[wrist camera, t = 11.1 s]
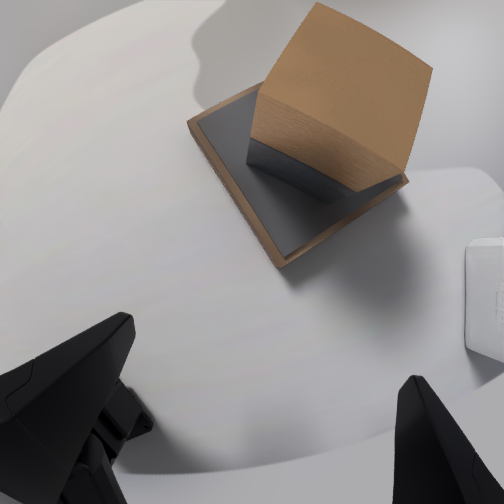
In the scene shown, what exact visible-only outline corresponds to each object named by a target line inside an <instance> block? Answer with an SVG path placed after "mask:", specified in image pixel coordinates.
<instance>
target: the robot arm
mask: <svg viewBox="0 0 504 504" xmlns="http://www.w3.org/2000/svg"><path fill="white" fill-rule="evenodd" d="M135 335H136V332H135V326H134V319H133V316H132V315H131V314H128V313H125V312H118V313H117V314H115V315H113V316H111V317H109V318H107V319H105V320H104V321H102V322H100V323H98V324H96V325H94V326H93V327H91V328H89V329H87V330H85V331H83V332H81V333H80V334H78V335H76V336H74V337H72V338H70V339H69V340H67V341H65V342H63V343H61V344H59V345H58V346H56V347H54V348H52V349H50V350H49V351H47V352H45V353H43V354H41V355H39V356H38V357H36V358H35V360H34V359H32V360H30V361H28V362H27V363H25V364H23V365H21V366H19V367H17V368H15V369H13V370H11V371H9V372H7V373H4V374H2V375H0V504H127V502H126V500H125V498H124V495H123V493H122V491H121V489H120V487H119V484H118V482H117V480H116V477H115V475H114V473H113V470H112V468H111V467H112V465H113V464H114V462H115V460H116V458H117V456H118V454H119V452H120V450H121V448H122V447H123V445H124V443H125V441H128V440H130V439H133V438H135V437H137V436H140V435H142V434H144V433H146V432H149V431H151V430H152V428H153V423H152V421H151V420H150V419H149V418H148V416H147V415H146V414H145V413H144V412H143V410H142V407H141V406H140V405H139V404H138V402H137V401H136V400H135V399H134V397H133V396H132V395H131V393H130V392H129V391H128V390H127V388H126V387H125V386H124V384H123V383H121V382H120V381H119V379H118V378H119V376H120V373H121V371H122V369H123V366H124V364H125V361H126V359H127V356H128V354H129V351H130V349H131V347H132V344H133V342H134V339H135ZM145 424H148V425H149V426H146V425H145ZM392 504H504V490H503V488H502V487H501V486H500V484H499V483H498V482H497V481H496V479H495V478H494V477H493V475H492V474H491V473H490V471H489V470H488V469H487V467H486V466H485V464H484V463H483V461H482V460H481V458H480V457H479V455H478V454H477V452H475V449H474V448H473V446H472V445H471V443H470V442H469V440H468V439H467V437H466V436H465V434H464V433H463V431H462V430H461V429H460V427H459V426H458V424H457V423H456V421H455V420H454V418H453V417H452V416H451V414H450V413H449V411H448V410H447V409H446V407H445V406H444V404H443V403H442V402H441V400H440V399H439V397H438V396H437V395H436V393H435V392H434V391H433V389H432V388H431V387H430V385H429V384H428V382H427V381H426V380H425V378H424V377H423V376H418V375H412V376H410V377H409V378H408V380H407V381H406V382H405V383H404V385H403V386H402V387H401V389H400V390H399V393H398V400H397V414H396V426H395V461H394V487H393V502H392Z"/></svg>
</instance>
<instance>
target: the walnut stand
mask: <svg viewBox="0 0 504 504" xmlns="http://www.w3.org/2000/svg"><path fill="white" fill-rule="evenodd" d="M263 82H264V81H263ZM263 82H261V83H259V84H257V85H255V86H252V87H250V88H248V89H246V90H244V91H242V92H240V93H238V94H236V95H234V96H232V97H230V98H228V99H226V100H224V101H222V102H220V103H219V104H217V105H215V106H213V107H211V108H209V109H207V110H206V111H204V112H202V113H200V114H198V115H197V116H195V117H193V118H191V119H190V120H188V121H186V122H187V124H188V127H189V130H190V133H191V135H192V136H193V138H194V139H195V141H196V142H197V144H198V146H199V147H200V149H201V150H202V152H203V153H204V155H205V157H206V158H207V160H208V161H209V163H210V164H211V166H212V167H213V169H214V171H215V172H216V174H217V175H218V177H219V178H220V180H221V182H222V183H223V185H224V186H225V188H226V189H227V191H228V193H229V194H230V196H231V197H232V199H233V200H234V202H235V204H236V205H237V207H238V208H239V210H240V212H241V213H242V215H243V216H244V218H245V219H246V221H247V223H248V224H249V226H250V227H251V229H252V231H253V232H254V234H255V235H256V237H257V238H258V240H259V242H260V243H261V245H262V246H263V248H264V250H265V251H266V253H267V254H268V256H269V258H270V259H271V261H272V262H273V264H274V266H275V267H277V268H282V267H283V266H285V265H287V264H288V263H290V262H291V261H293V260H294V259H296V258H297V257H299V256H300V255H302V254H304V253H305V252H307V251H308V250H310V249H311V248H313V247H314V246H316V245H317V244H319V243H320V242H322V241H323V240H325V239H326V238H328V237H329V236H331V235H332V234H334V233H335V232H337V231H338V230H340V229H341V228H343V227H344V226H346V225H347V224H349V223H350V222H352V221H353V220H355V219H356V218H358V217H359V216H361V215H362V214H364V213H365V212H367V211H368V210H370V209H371V208H373V207H374V206H375V205H377V204H378V203H380V202H381V201H383V200H384V199H386V198H387V197H389V196H390V195H392V194H393V193H394V192H396V191H397V190H399V189H400V188H402V187H403V186H405V185H406V184H407V183H409V181H408V179H407V177H406V175H405V174H404V172H402V173H400V174H398V175H396V176H393V177H391V178H389V179H386V180H384V181H382V182H380V183H377V184H375V185H373V186H370V187H368V188H366V189H364V190H361V191H359V192H357V193H355V194H352V195H350V196H348V197H346V198H343V199H341V200H339V201H337V202H334V203H332V204H330V205H327V204H325V203H323V202H321V201H319V200H317V199H315V198H313V197H312V196H310V195H308V194H306V193H304V192H302V191H300V190H298V189H296V188H294V187H292V186H290V185H288V184H286V183H284V182H282V181H280V180H279V179H277V178H274V177H272V176H270V175H268V174H266V173H264V172H262V171H260V170H258V169H256V168H254V167H252V166H250V165H248V164H246V158H247V152H248V146H249V140H250V134H251V129H252V123H253V117H254V111H255V106H256V100H257V94H258V91H259V89H260V87H261V86H262V84H263Z"/></svg>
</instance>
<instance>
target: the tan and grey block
mask: <svg viewBox="0 0 504 504" xmlns="http://www.w3.org/2000/svg"><path fill="white" fill-rule="evenodd" d="M432 70H433V68H432V67H430V66H429V65H428V64H426V63H425V62H423V61H422V60H420V59H419V58H418V57H416V56H415V55H413V54H411V53H410V52H409V51H407V50H406V49H404V48H403V47H401V46H400V45H398V44H396V43H395V42H393V41H391V40H390V39H388V38H387V37H385V36H383V35H382V34H380V33H378V32H376V31H374V30H373V29H371V28H369V27H367V26H366V25H363V24H362V23H360V22H358V21H356V20H354V19H352V18H350V17H348V16H346V15H344V14H342V13H340V12H338V11H336V10H334V9H331V8H329V7H327V6H325V5H323V4H320V3H318V2H316V3H315V5H314V6H313V8H312V9H311V11H310V12H309V13H308V15H307V16H306V18H305V19H304V21H303V22H302V23H301V25H300V26H299V28H298V30H297V31H296V32H295V34H294V36H293V37H292V38H291V40H290V42H289V43H288V45H287V46H286V48H285V49H284V51H283V52H282V54H281V55H280V57H279V58H278V60H277V62H276V63H275V65H274V66H273V68H272V70H271V71H270V73H269V75H268V76H267V78H266V80H265V81H264V82H263V84H262V86H261V87H260V89H259V91H258V94H257V100H256V106H255V111H254V117H253V123H252V129H251V134H250V140H249V146H248V152H247V158H246V164H248V165H250V166H252V167H254V168H256V169H258V170H260V171H262V172H264V173H266V174H268V175H270V176H272V177H274V178H277V179H279V180H280V181H282V182H284V183H286V184H288V185H290V186H292V187H294V188H296V189H298V190H300V191H302V192H304V193H306V194H308V195H310V196H312V197H313V198H315V199H317V200H319V201H321V202H323V203H325V204H327V205H330V204H332V203H334V202H337V201H339V200H341V199H343V198H346V197H348V196H350V195H352V194H355V193H357V192H359V191H361V190H364V189H366V188H368V187H370V186H373V185H375V184H377V183H380V182H382V181H384V180H386V179H389V178H391V177H393V176H396V175H398V174H400V173H402V172H404V171H405V168H406V165H407V162H408V159H409V156H410V152H411V149H412V146H413V143H414V139H415V136H416V133H417V129H418V126H419V122H420V119H421V114H422V111H423V107H424V103H425V100H426V96H427V91H428V87H429V83H430V79H431V74H432Z"/></svg>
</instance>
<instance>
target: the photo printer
mask: <svg viewBox="0 0 504 504" xmlns="http://www.w3.org/2000/svg"><path fill="white" fill-rule="evenodd" d="M465 260H466V325H465V342H466V347H467V348H469V349H470V350H473V351H475V352H478V353H480V354H482V355H485V356H487V357H490V358H492V359H495V360H497V361H500V362H502V363H504V237H496V238H479V239H475V240H473V241H471V242H470V244H469V245H468V246H467V247H466V259H465Z"/></svg>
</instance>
